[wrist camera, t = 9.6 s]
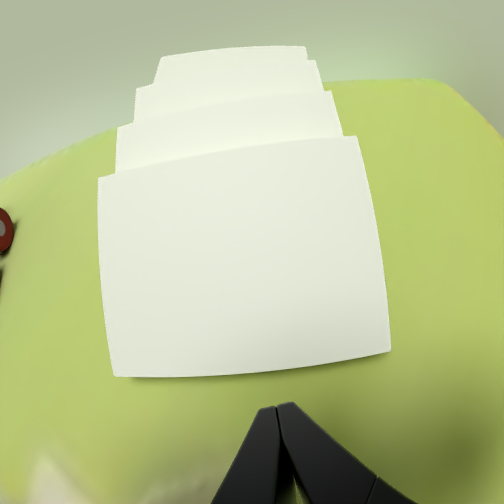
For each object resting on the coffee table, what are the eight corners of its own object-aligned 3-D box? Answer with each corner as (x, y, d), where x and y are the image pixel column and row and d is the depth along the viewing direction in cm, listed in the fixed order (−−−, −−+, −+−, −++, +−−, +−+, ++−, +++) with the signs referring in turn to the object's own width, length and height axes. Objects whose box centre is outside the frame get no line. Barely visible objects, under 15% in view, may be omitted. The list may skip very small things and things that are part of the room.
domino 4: (391, 351, 12) (356, 135, 13) (114, 376, 13) (98, 178, 14) (377, 343, 14) (348, 152, 15) (131, 367, 15) (115, 188, 16)
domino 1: (318, 131, 20) (305, 46, 22) (138, 141, 21) (161, 57, 23) (315, 147, 22) (304, 61, 24) (147, 155, 23) (166, 71, 25)
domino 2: (346, 190, 17) (315, 59, 18) (131, 217, 18) (136, 88, 19) (340, 199, 19) (313, 76, 20) (144, 223, 20) (146, 101, 21)
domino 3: (368, 262, 15) (330, 90, 16) (120, 292, 16) (117, 127, 17) (358, 264, 17) (326, 107, 18) (135, 291, 18) (130, 140, 19)
